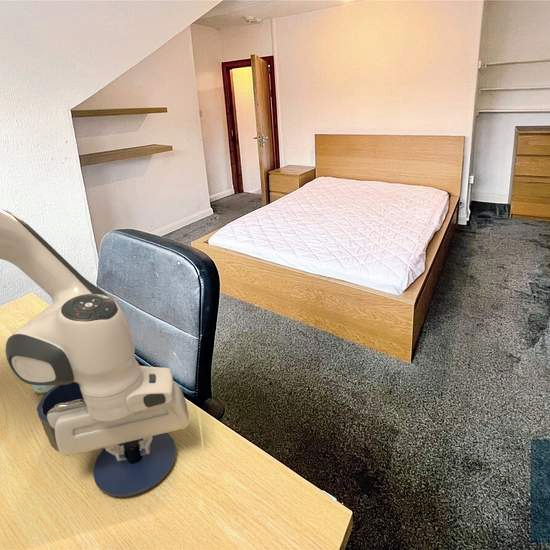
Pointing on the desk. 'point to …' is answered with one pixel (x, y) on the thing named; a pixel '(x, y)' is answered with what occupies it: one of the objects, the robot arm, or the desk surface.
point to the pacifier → (41, 388)
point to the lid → (134, 467)
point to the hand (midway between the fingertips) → (134, 454)
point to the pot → (53, 398)
